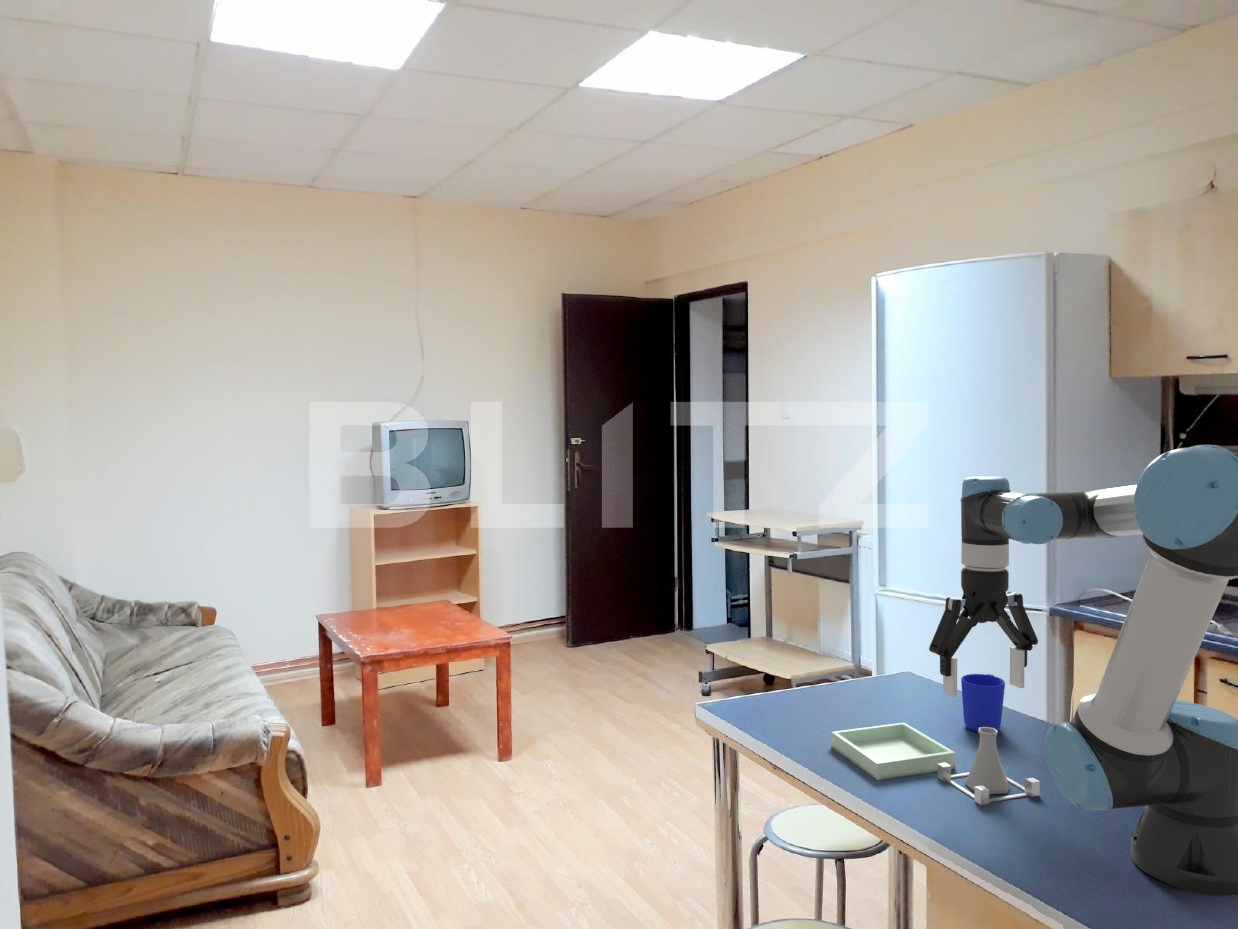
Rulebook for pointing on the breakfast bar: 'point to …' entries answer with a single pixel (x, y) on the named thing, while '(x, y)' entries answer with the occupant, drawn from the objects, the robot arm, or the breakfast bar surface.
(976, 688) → the mug
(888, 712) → the breakfast bar surface
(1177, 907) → the breakfast bar surface
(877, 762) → the bin
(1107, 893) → the breakfast bar surface
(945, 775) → the socket
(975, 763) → the flask
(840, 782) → the breakfast bar surface
